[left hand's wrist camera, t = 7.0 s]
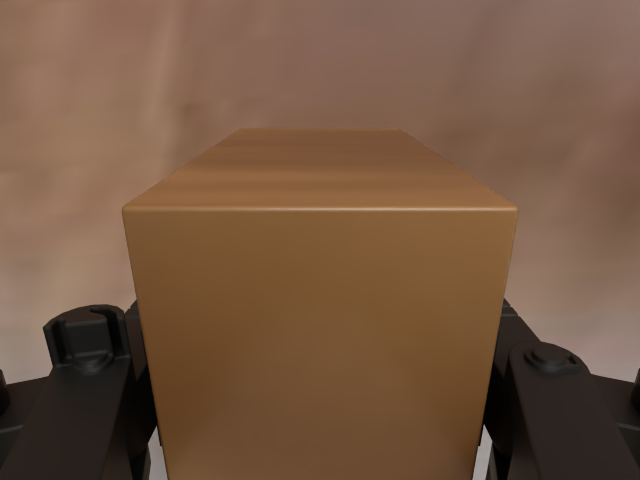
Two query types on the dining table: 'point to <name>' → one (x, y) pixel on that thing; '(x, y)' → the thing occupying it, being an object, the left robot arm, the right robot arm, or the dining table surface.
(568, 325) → the dining table surface
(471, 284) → the post
